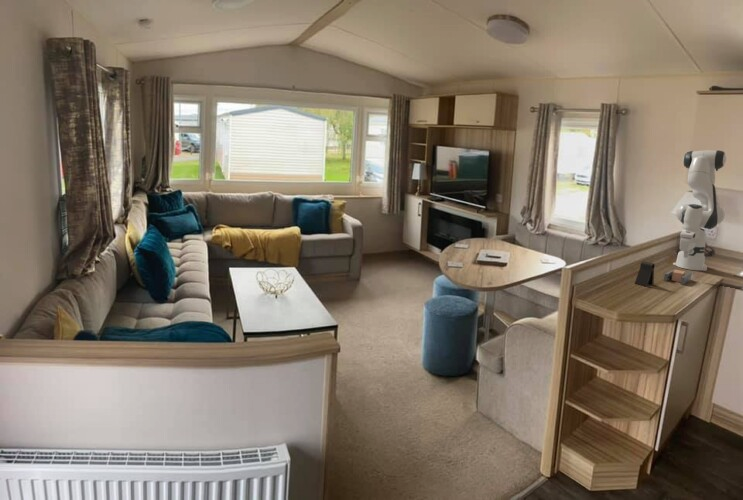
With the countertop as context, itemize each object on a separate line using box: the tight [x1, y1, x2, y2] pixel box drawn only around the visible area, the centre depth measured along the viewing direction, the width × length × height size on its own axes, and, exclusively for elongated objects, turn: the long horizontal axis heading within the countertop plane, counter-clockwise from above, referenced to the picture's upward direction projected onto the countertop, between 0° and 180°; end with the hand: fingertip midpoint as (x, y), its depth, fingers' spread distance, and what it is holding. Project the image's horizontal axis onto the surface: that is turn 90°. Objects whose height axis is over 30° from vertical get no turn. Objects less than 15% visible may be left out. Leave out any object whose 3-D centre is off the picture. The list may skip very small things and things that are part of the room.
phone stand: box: [634, 260, 655, 287], centre depth 299 cm, size 9×6×12 cm, turn 127°
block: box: [671, 269, 686, 283], centre depth 314 cm, size 8×5×5 cm, turn 144°
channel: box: [663, 268, 693, 285], centre depth 313 cm, size 16×10×4 cm, turn 138°
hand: (685, 257), depth 318 cm, fingers closed
